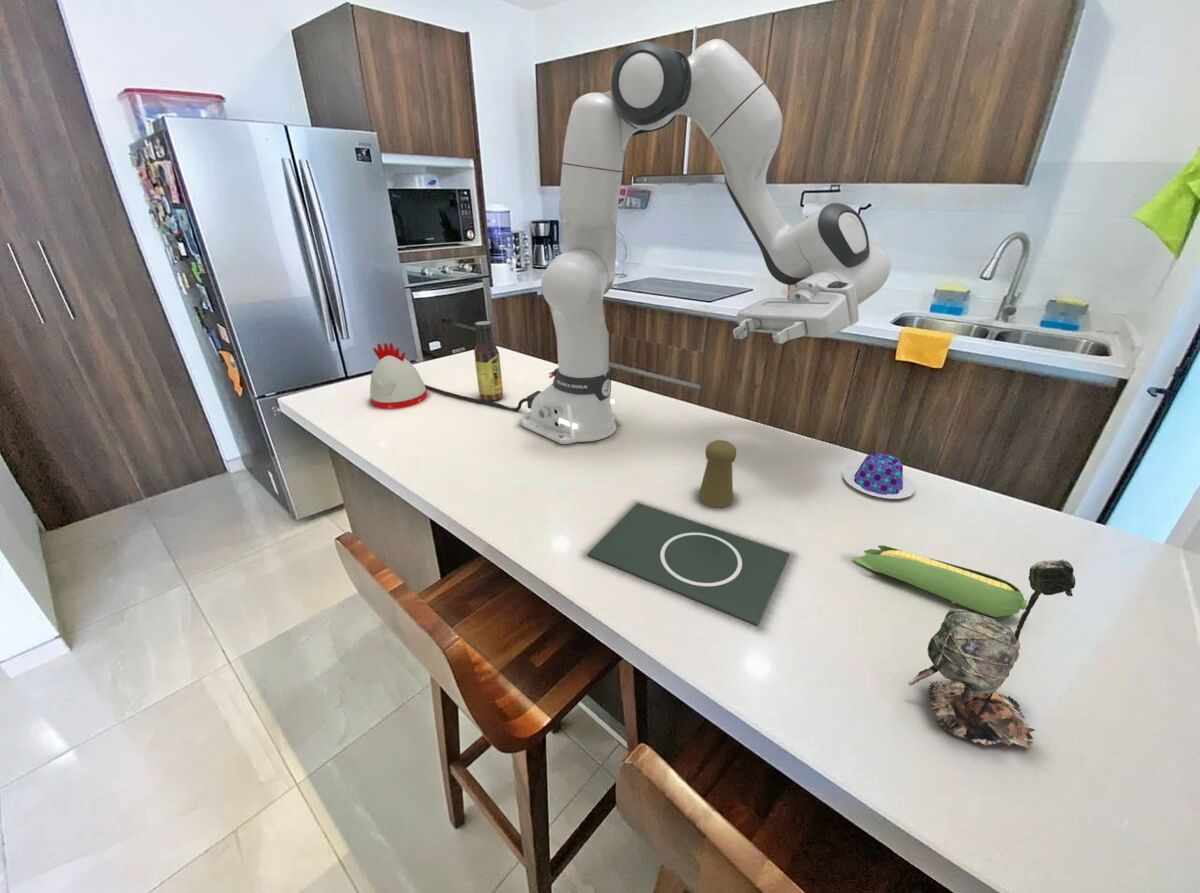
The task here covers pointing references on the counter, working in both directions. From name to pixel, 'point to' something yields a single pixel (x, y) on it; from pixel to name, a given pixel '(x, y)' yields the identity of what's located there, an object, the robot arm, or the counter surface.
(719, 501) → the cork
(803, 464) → the counter surface
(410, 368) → the grey and red dome
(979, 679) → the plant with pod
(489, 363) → the sauce bottle
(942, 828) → the counter surface
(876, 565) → the edible corn
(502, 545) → the counter surface
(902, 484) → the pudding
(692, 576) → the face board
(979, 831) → the counter surface
